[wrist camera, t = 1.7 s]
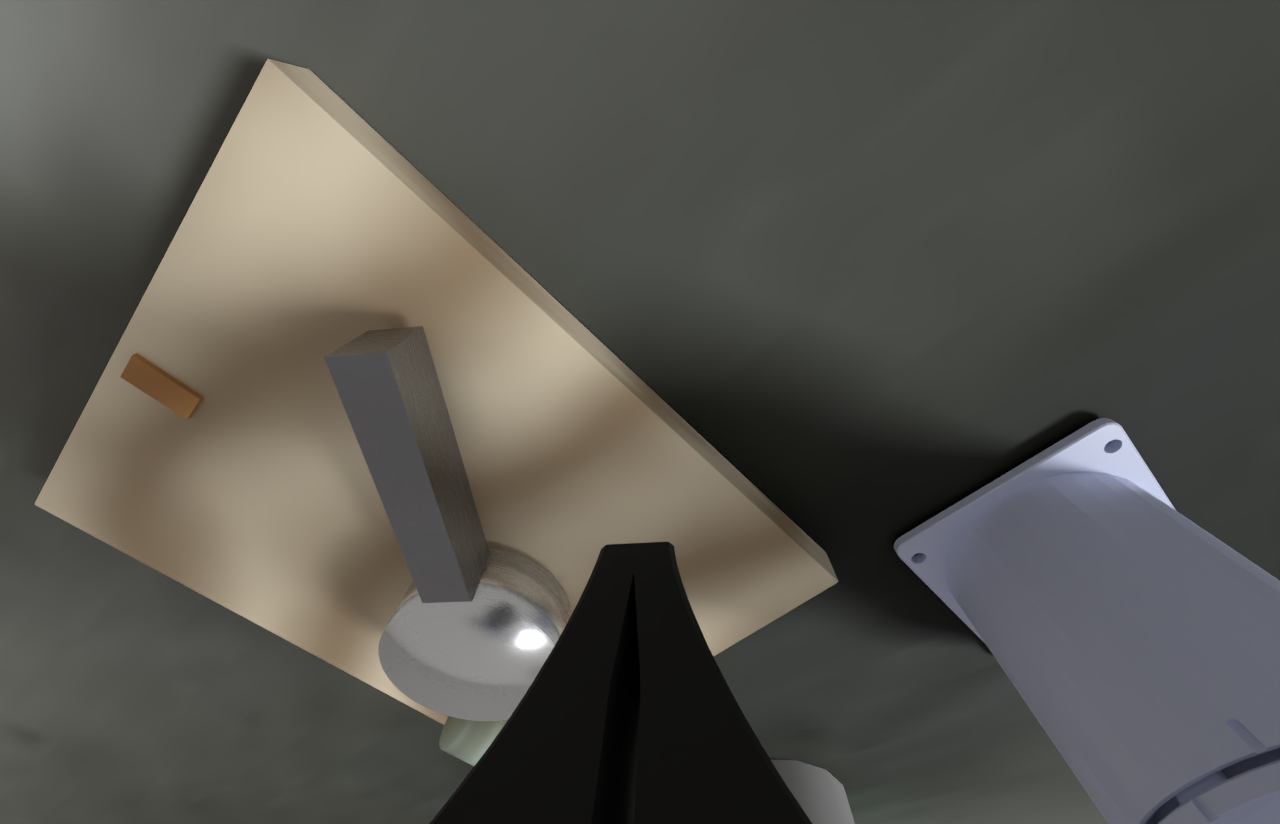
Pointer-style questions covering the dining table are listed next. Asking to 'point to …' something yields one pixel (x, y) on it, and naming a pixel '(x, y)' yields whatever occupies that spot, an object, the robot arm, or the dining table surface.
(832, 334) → the dining table surface
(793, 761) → the cup
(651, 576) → the robot arm
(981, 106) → the dining table surface
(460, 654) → the grey spoon
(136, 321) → the oak board
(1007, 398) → the dining table surface
